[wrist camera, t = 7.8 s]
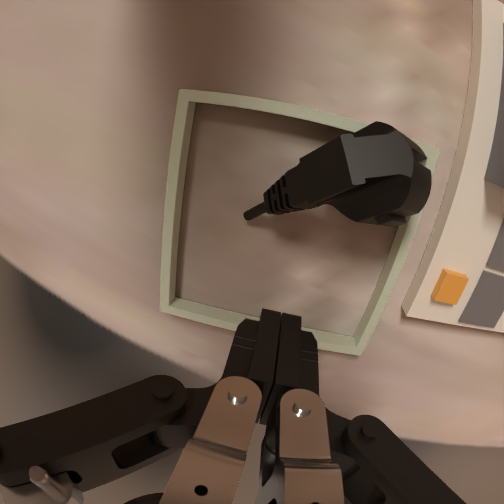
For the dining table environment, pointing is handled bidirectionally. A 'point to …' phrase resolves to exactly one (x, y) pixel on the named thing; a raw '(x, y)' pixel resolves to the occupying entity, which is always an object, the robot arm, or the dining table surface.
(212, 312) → the pick tray
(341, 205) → the power plug
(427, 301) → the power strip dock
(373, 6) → the dining table surface
